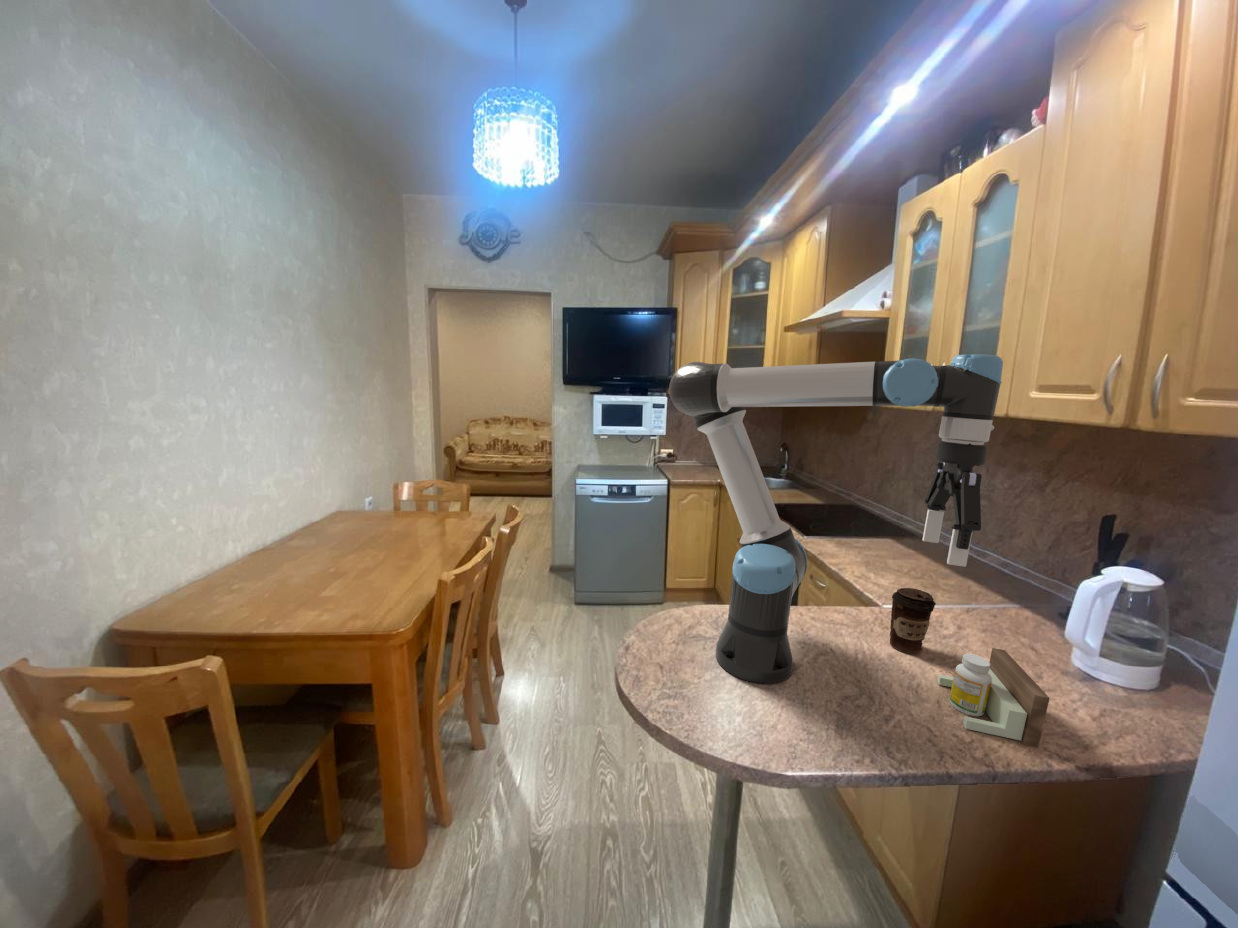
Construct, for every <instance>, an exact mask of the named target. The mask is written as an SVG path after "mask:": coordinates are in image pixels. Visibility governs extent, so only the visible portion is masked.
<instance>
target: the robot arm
mask: <svg viewBox="0 0 1238 928" xmlns="http://www.w3.org/2000/svg"><path fill="white" fill-rule="evenodd" d="M1003 367H1004V361H1003V359H1002V357H1000V356H997V355H994V354H982V353H981V354H979V353H978V354H969V353H968V354H957V355H955V356H953V358H952V360H951V362H950V364H948V365H933V364H931V363H930V362H929V361H927V360H925V359H921V358H919V357H918V358H917V357H915V358H914V357H913V358H912V357H911V358H910V357H908V358H902V359H901V360H885V361H884V360H883V361H862V362H861V361H859V362H857V361H856V362H840V363H838V362H837V363H817V364H797V365H778V366H777V365H774V366H756V367H755V366H754V367H752V366H751V367H735V368H734V367H733V368H732V367H731V366H730V365H729V364H728V363H724V362H723V363H707V362H703V361H694V362H688V363H686V364H683V365H681V367H679V368H678V369H677V370H676V371H675V372H674V373H673V375H672V377H671V379H670V382H669V385H668V386H669V387H668V388H669V389H668V393H669V397H670V401H671V402H672V404H673V405H674V407H675V408H676V409H677V410H678V411H679V412H681V413H683V414H684V415H686V416H689V417H692V419H693V421H694V425H695V427H696V429H697V431H699V432H700V433H703V434H705V435H706V437H707V440H708V443H709V444H710V448H711V450H712V454H713V456H714V458H715V460H716V464H717V466H718V469H719V472H720V475H721V477H722V479H723V482H724V485H725V487H726V490H727V493H728V495H729V497H730V501H731V503H732V506H733V509H734V512H735V513H736V516H737V520H738V522H739V525H740V528H741V530H742V535H741V537H740V540H739V544H740V548H739V549H738V551H737V552H736V554H735V556H734V560H733V563H732V570H731V571H732V575H731V576H732V577H731V586H730V594H729V605H728V614H727V615H728V617H727V621H726V623H725V625H724V628H723V629H722V632H721V633H720V635H719V637H718V640H717V642H716V645H715V646H716V647H715V660H716V661H717V662H718V664H719V666H720V667H721V668H723V669H724V670H725V671H726V672H727V673H729V674H731V675H733V676H734V677H737V678H739V679H742V680H744V681H748V682H751V683H755V684H767V685H768V684H777V683H780V682H784V681H786V680H787V679H789V677H790V676H791V674H792V672H793V671H792V669H793V663H794V662H793V660H794V659H793V654H792V650H791V646H790V645H791V644H790V641H789V635H788V629H789V628H788V627H789V620H790V619H789V618H790V612H791V604H792V598H793V596H794V594H795V592H796V590H797V588H798V587H799V585H800V584H801V582H802V581H803V579H804V578H805V575H806V574H807V568H808V556H807V553H806V549H805V548H804V546H803V544H802V543H801V542H800V541H799V540H798V539H797V538H796V537H795V535H794V532H793V530H792V528H791V526H790V524H788V523H786V522H784V521H782V520H781V519H780V516H779V514H778V511H777V508H776V506H775V503H774V501H773V498H772V496H771V495H772V494H771V492H770V489H769V487H768V484H767V482H766V480H765V477H764V474H763V472H762V469H761V466H760V464H759V462H758V459H757V456H756V453H755V451H754V448H753V446H752V443H751V440H750V438H749V435H748V433H747V429H746V427H745V425H744V423H743V420H744V417H745V414H746V413H747V410H746V408H764V407H765V408H769V407H773V408H774V407H775V408H776V407H777V408H778V407H783V408H784V407H859V406H860V407H861V406H865V407H867V406H868V407H869V406H871V407H873V406H874V407H898V406H899V407H905V408H907V407H908V408H909V407H917V406H919V407H921V406H922V407H923V406H924V407H935V408H939V407H940V408H941V407H942V408H943V413H942V416H941V419H940V420H941V422H940V426H939V431H938V437H939V438H940V439H941V440H939V441H938V442H937V446H936V450H935V460H936V461H937V463H936V466H935V467H936V468H935V472H934V474H933V477H932V480H931V481H930V482H931V483H930V486H929V488H928V491H927V493H926V496H925V498H924V504H926V508H927V513H926V518H925V524H924V529H923V535H922V542H929V543H935V544H939V543H940V537H941V533H942V527H943V522H944V521H943V520H944V517H945V512H946V511H947V507H946V505H947V502H948V501H949V499H950V498H951V497H952V503H953V510H954V520H955V523H954V524H953V525H952V526H951V529H952V532H951V533H952V534H951V539H950V544H949V548H948V554H947V559H946V564H947V565H951V566H958V567H965V568H966V567H967V563H968V558H969V554H970V553H969V552H970V547H971V543H972V542H971V541H972V537H973V532H976V531H977V532H979V531H981V530H982V516H981V515H982V512H981V511H982V509H981V483H982V474H981V473H976V472H975V473H973V468H974V467H975V466H976V467H980V466H981V467H982V466H983V465H985V464H986V460H987V459H986V458H987V453H988V449H989V447H988V445H986V444H985V443H987V442H990V437H991V433H992V431H993V430H994V429H995V426H994V425H993V421H994V416H995V413H996V406H997V403H998V397H999V392H1000V388H1001V384H1002V375H1003V374H1002V373H1003Z"/></svg>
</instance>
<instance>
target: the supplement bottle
mask: <svg viewBox="0 0 1238 928" xmlns="http://www.w3.org/2000/svg"><path fill="white" fill-rule="evenodd" d="M989 662H990V661H988V660H987V659H986V658H984V657H982V656H980V655H977V654H973V653H964V654H963V655H962V659H961V663H959V664H958V665H956V667H955V669H954V675H953V677H954V679H953V684H952V687H951V689H950V695H949V702H950V704H951V706H952V707H953V708H954V709H956V710H957V711H959V712H961V713H962V714H965V715H968V716H970V717H971V716H972V717H981V716H984V714H985V713H986V711H985V709H986V704H987V700H988V696H989V691H990V687H991V682H992V678H991V676H990V674H989V673H988V671H989V670H990V663H989Z"/></svg>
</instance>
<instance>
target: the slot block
mask: <svg viewBox="0 0 1238 928" xmlns="http://www.w3.org/2000/svg"><path fill="white" fill-rule="evenodd" d="M988 673H989V674H990V676H991V678H992V682H991V687H990V691H989V696H988V700H987V704H986V709H985V713H986V714H987V715H988V717H989V718H990V720H991V721H988V720H985V719H979V718H974V717H971V716H964V717H963V720H962V721H963V722H962V725H963V726H964V728H965V729H966V730H971V731H974V732H975V731H976V732H979V733H984V734H988V735H993V736H998V737H1002V738H1007V739H1011V740H1016V741H1021V739H1022V735H1023V730H1024V726H1025V722H1026V717H1027V713H1026V712H1025V710H1024V709H1023V708H1022V707H1021V706H1020V704H1019V703H1018V702H1017V701H1016V700H1015V698H1014V697H1013V696H1012V695H1011V693H1010V692H1009V691H1008V690H1007V689H1006V687H1005V686H1004V685H1003V684H1002V683H1001V681H1000V680H999V679H998V678H997V676H996V675H995V674H994V673H993V672H992V670H991V669H990V670H989V671H988ZM953 679H954V676H949V675H943V674H937V679H936V682H937V684H938V685H939V686H944V687H949V688H952V684H953ZM1021 742H1022V741H1021Z"/></svg>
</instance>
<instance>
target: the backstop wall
mask: <svg viewBox="0 0 1238 928" xmlns="http://www.w3.org/2000/svg"><path fill="white" fill-rule="evenodd" d="M988 662H989V663H990V669H991V670H992V672H993V673H994V674H995V675H996V676H997V678H998V679H999V680H1000V681H1001V683H1002V684H1003V685H1004V686H1005V687H1006V689H1007V690H1008V691H1009V692H1010V693H1011V695H1012V696H1013V697H1014V698H1015V700H1016V701H1017V702H1018V703H1019V704H1020V706H1021V707H1022V708H1023V709H1024V710H1025V712H1026V713H1027V717H1026V722H1025V726H1024V730H1023V735H1022V739H1021V743H1022V744H1023V745H1025V746H1031V747H1034V748H1039V745H1040V741H1041V740H1040V739H1041V737H1042V732H1043V728H1044V723H1045V718H1046V715H1047V711H1048V707H1049V703H1050V699H1051V698H1050V696H1048V695H1047V694H1046V692H1045V691H1044V690H1043V689H1042V688H1041V687H1040V686H1039V685H1038V684H1037V683H1036V682H1035V680H1034V679H1032V677H1031V676H1030V675H1029V673H1027V672H1026V671H1025V670H1024V669H1023V668H1022V667H1021V666H1020V664H1018V663H1017V662H1016V661H1015V659H1014V658H1013V657H1012V656H1011V655H1010V654H1009V652H1007V651H1006V650H1005V649H1001V648H996V647H995V648H994V647H991V652H990V658H989V661H988Z"/></svg>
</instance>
